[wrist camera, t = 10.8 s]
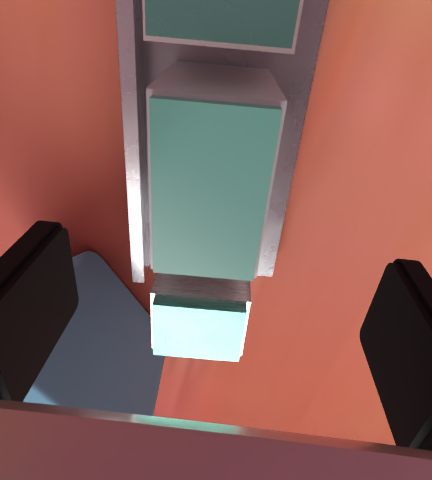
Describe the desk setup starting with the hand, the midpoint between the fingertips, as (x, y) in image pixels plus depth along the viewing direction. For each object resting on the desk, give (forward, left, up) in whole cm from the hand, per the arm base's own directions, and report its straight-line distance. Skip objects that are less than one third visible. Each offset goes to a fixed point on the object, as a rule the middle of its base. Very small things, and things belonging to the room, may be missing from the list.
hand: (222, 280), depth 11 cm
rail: (+1, 0, -15) cm, 15 cm away
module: (+1, 0, -13) cm, 13 cm away
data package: (+9, +16, -15) cm, 24 cm away
